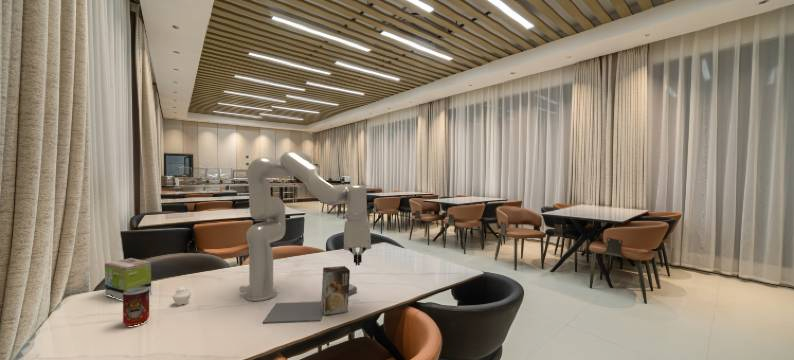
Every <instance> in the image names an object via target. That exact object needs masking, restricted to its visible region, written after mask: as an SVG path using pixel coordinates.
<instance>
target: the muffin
mask: <svg viewBox="0 0 794 360" xmlns="http://www.w3.org/2000/svg"><path fill="white" fill-rule="evenodd" d="M191 296H192V292H191V290H189V289H188V288H187V287H186V286H179V287H178V288H177V289H176V291H175V293H174V294H173V296H172V299H173V301H174V303H175V304H176V305H177V306H178V305H181V306H183V305H182V304H185V305H186V303H187V304H188V302H189V300H190V298H191Z"/></svg>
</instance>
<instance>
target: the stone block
mask: <svg viewBox="0 0 794 360" xmlns="http://www.w3.org/2000/svg"><path fill="white" fill-rule="evenodd" d="M357 291H358V288H357V286H356V285H354V284H352V283H349V297H351V296H353V295H355V294H356V293H357Z"/></svg>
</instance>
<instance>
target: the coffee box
mask: <svg viewBox="0 0 794 360" xmlns="http://www.w3.org/2000/svg"><path fill="white" fill-rule="evenodd" d="M350 273H351V270H350V269H349V268H348V267H346V266H345V265H342V266H341V265H340V266H328V267H323V268H322V281H321V282H322V284H321V297H320V298H321V299H320V300H321V301H320V302H321V309H322V311H323V315H326V316H327V315H334V314H339V313H340V314H342V313H347V312H349V297H350V296H349V284H350V278H351V275H350Z"/></svg>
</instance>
